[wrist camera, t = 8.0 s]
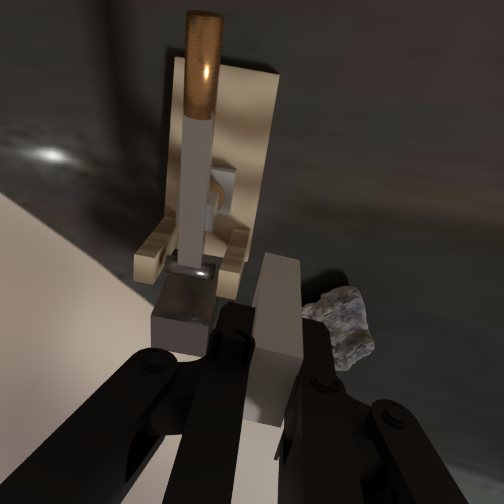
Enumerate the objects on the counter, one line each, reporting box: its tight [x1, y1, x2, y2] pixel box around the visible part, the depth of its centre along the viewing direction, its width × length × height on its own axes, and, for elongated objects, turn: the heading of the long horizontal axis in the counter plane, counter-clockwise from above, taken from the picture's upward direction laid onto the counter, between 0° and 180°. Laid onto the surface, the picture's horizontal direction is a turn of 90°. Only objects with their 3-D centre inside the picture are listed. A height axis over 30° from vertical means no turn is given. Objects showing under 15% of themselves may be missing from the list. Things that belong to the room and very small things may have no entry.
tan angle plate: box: [133, 57, 280, 300], centre depth 43 cm, size 22×11×13 cm, turn 171°
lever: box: [151, 10, 224, 357], centre depth 38 cm, size 32×6×8 cm, turn 171°
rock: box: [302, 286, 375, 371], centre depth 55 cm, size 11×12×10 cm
